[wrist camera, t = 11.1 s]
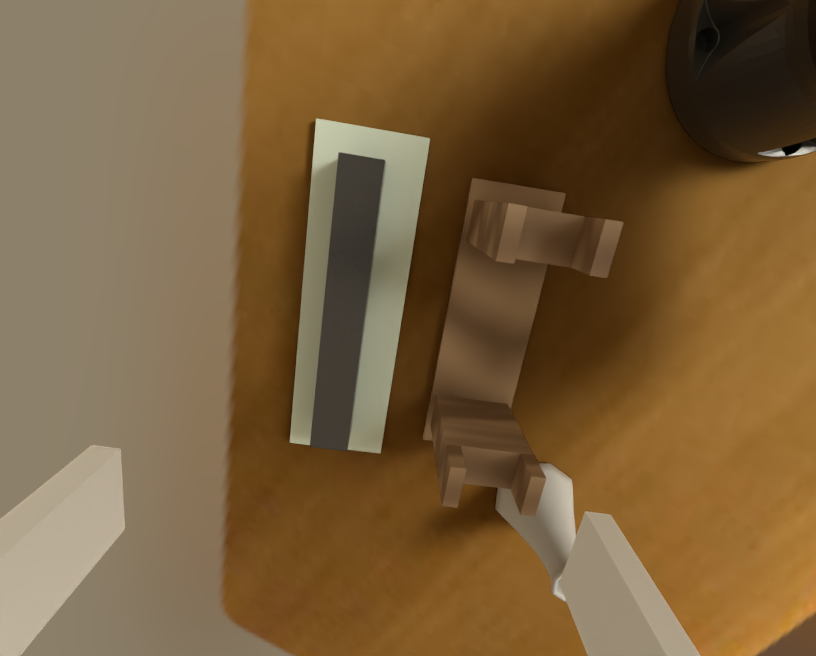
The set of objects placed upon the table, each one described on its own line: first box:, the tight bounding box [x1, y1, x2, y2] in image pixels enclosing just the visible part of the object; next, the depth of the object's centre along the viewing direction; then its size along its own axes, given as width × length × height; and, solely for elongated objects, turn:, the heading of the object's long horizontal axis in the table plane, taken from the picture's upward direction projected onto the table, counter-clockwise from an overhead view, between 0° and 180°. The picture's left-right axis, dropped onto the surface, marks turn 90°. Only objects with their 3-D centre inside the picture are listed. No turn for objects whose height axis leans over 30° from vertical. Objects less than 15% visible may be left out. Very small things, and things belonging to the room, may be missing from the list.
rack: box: [423, 178, 624, 516], centre depth 29 cm, size 22×7×10 cm, turn 171°
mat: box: [290, 118, 430, 453], centre depth 33 cm, size 26×8×1 cm, turn 171°
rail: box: [310, 152, 386, 451], centre depth 32 cm, size 22×3×3 cm, turn 171°
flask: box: [495, 463, 576, 602], centre depth 35 cm, size 7×7×10 cm
